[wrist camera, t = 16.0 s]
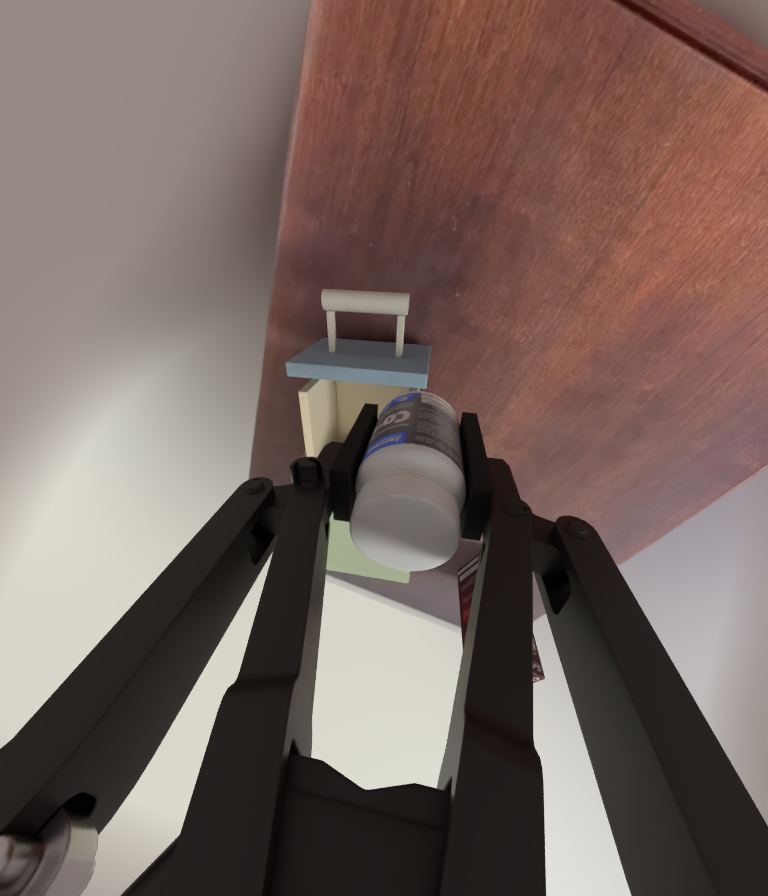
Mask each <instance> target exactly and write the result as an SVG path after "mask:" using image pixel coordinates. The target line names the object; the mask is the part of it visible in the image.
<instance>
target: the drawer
mask: <svg viewBox="0 0 768 896" xmlns="http://www.w3.org/2000/svg"><path fill="white" fill-rule="evenodd" d="M321 303H322V307H323V309H324V310H328V311H326V314H327V329H328V338H325V337H324V338H322V339H320V340H319V341H317V342H316V343H314V344H313V345H311V346H310V347H308V348H307V349H305V350H303V351H302V352H300V353H299V354H297V355H296V356H294V357H293V358H291V359H290V360H288V361H286V362H285V364H286V371H287V376H290V377H301V378H312V379H311V380H310V381H309V382H308V383H307V384H306V385H305V386H304V387H303V388H302V389H300V390H299V391H298V394H299V402H300V410H301V418H302V425H303V433H304V441H305V449H306V456H307V457H309V456H310V457H318V455H319V454H320V452H321V450H322V449H323V447H324V446H325V445H327V444H328V443H330V442H331V441H333V442H342V443H344V441H345V440H346V438H347V436H348V434H349V432H350V430H351V428H352V427H353V425H354V423H355V421H356V419H357V417H358V415H359V414H360V412H361V410H362V408H363V406H364V404H365V403H368V404H378V418H379V416H380V414H381V412H382V410H383V409H384V407H385V406H386V405H387V404H388V403H389V402H390V401H391V400H392V399H393V398H395V397H396V396H398V395H400V394H403V393H407V392H412V391H419V390H420V388H422V389H426V387H427V378H428V369H429V361H430V352H431V345H419V344H405V343H403V342H404V327H405V315H408V309H409V293H395V292H376V291H358V290H339V289H323V290H322V294H321ZM335 311H345V312H361V313H377V314H393V315H398V316H397V332H396V343H392V342H378V341H365V340H351V339H338V338H336V323H335Z"/></svg>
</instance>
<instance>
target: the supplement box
mask: <svg viewBox="0 0 768 896" xmlns="http://www.w3.org/2000/svg"><path fill="white" fill-rule="evenodd" d="M478 557H479V556H478ZM478 557H476V558H475V559H474V560H472V561H471V562H470V563H469V564H467V565H466V566H465V567H464V568H462V569H461V570H460V571H459V572H458V573H457V574H458V588H459V602H460V615H461V629H462V643H463V649H464V643H465V637H466V632H467V626H468V620H469V615H470V609H471V603H472V598H473V592H474V586H475V581H476V575H477V569H478V564H479V561H478ZM543 679H545V677H544V673H543V670H542V665H541V662H540V658H539V654H538V650H537V646H536V642H535V638H534V635H533V683H534V682H537V681H540V680H543Z"/></svg>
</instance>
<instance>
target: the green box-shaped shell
mask: <svg viewBox="0 0 768 896" xmlns="http://www.w3.org/2000/svg"><path fill="white" fill-rule="evenodd" d="M302 457H307V456H306V451H305V452H304V454H303V455H302ZM302 457H301V458H302ZM291 476H292V474H291ZM292 482H293V480H292ZM329 520H330V534H329V544H328V555H327V565H326V570H332V571H338V572H344V573H350V574H356V575H361V576H367V577H373V578H379V579H385V580H391V581H397V582H403V583H409V576H410V571H401V570H396V569H392V568H388V567H385V566H382V565H380V564H377V563H376V562H374V561H372V560H370V559H369V558H367V557H366V556H365V555H364V554H363V553H362V552H361V551H360V550H359V549H358V548H357V547H356V546H355V544H354V543H353V540H352V538H351V535H350V529H349V525H350V522H345V521H338V520H334V518H333V512H332V514H331V517H330V519H329Z"/></svg>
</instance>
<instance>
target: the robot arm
mask: <svg viewBox="0 0 768 896" xmlns="http://www.w3.org/2000/svg"><path fill="white" fill-rule="evenodd" d="M377 421H378V404H368V403H365V404H364V406H363V408H362V410H361V412H360V414H359V415H358V417H357V419H356V421H355V423H354V425H353V427H352V428H351V430H350V432H349V434H348V436H347V438H346V440H345V441H344V443H342V442H333V441H331V442H330V443H328V444H327V445H325V446H324V447H323V449H322V450H321V452H320V454H319V455H318V457H310V456H309V457H302V458H299V459H297V460H295V461H294V462H293V463H292V464H291V466H290V468H291V474H292V480H293V484H290V485H283V486H273V483H272V481H271V480H270V479H267V478H264V477H258V478H253V479H250V480H248V481H246V482H244V483H243V484H241V485H240V486H239V487H238V488H237V490H236V491H235V492H234V493H233V494H232V495H231V496H230V498H229V499H228V500H227V501H226V502H225V503H224V504H223V505H222V506H221V507H220V508H219V510H218V511H217V512H216V513H215V514H214V515H213V516H212V517H211V519H210V520H209V521H208V522H207V523H206V524H205V525H204V526H203V527H202V529H201V530H200V531H199V532H198V533H197V534H196V535H195V536H194V537H193V539H192V540H191V541H190V542H189V543H188V544H187V545H186V546H185V548H184V549H183V550H182V551H181V552H180V553H179V554H178V555H177V556H176V557H175V559H174V560H173V561H172V562H171V563H170V564H169V565H168V566H167V568H166V569H165V570H164V571H163V572H162V573H161V574H160V575H159V576H158V577H157V579H156V580H155V581H154V582H153V583H152V584H151V585H150V586H149V588H148V589H147V590H146V591H145V592H144V593H143V594H142V595H141V596H140V598H139V599H138V600H137V601H136V602H135V603H134V604H133V605H132V606H131V608H130V609H129V610H128V611H127V612H126V613H125V614H124V615H123V616H122V618H121V619H120V620H119V621H118V622H117V623H116V624H115V625H114V626H113V628H112V629H111V630H110V631H109V632H108V633H107V634H106V635H105V636H104V638H103V639H102V640H101V641H100V642H99V643H98V644H97V646H95V648H94V649H93V650H92V651H91V652H90V653H89V654H88V655H87V656H86V658H85V659H84V660H83V661H82V662H81V663H80V664H79V665H78V667H77V668H76V669H75V670H74V671H73V672H72V673H71V674H70V675H69V677H68V678H67V679H66V680H65V681H64V682H63V683H62V684H61V685H60V687H59V688H58V689H57V690H56V691H55V692H54V693H53V694H52V695H51V697H50V698H49V699H48V700H47V701H46V702H45V703H44V704H43V705H42V707H41V708H40V709H39V710H38V711H37V712H36V713H35V714H34V716H33V717H32V718H31V719H30V720H29V721H28V722H27V723H26V724H25V725H24V727H23V728H22V729H21V730H20V731H19V732H18V733H17V735H16V736H15V737H14V738H13V739H12V740H11V741H9V742H8V743H7V744H6V745H5V746H3V747H2V748H1V749H0V896H80V895H81V894H82V892H83V891H84V890H85V888H86V887H87V885H88V883H89V881H90V879H91V877H92V875H93V871H94V867H95V855H96V851H97V846H98V835H99V834H100V832H101V831H102V830H103V829H104V827H105V826H106V825H107V824H108V822H109V821H110V820H111V819H112V817H113V816H114V814H115V813H116V812H117V810H118V809H119V807H120V806H121V804H122V803H123V802H124V800H125V799H126V797H127V796H128V794H129V793H130V792H131V790H132V789H133V788H134V786H135V784H136V783H137V781H138V780H139V778H140V777H141V775H142V773H143V772H144V770H145V769H146V767H147V765H148V764H149V762H150V761H151V759H152V757H153V756H154V754H155V752H156V751H157V749H158V747H159V745H160V744H161V742H162V740H163V738H164V737H165V735H166V733H167V732H168V730H169V728H170V727H171V725H172V723H173V721H174V720H175V718H176V716H177V715H178V713H179V711H180V709H181V708H182V706H183V704H184V703H185V701H186V699H187V697H188V696H189V694H190V692H191V690H192V689H193V687H194V685H195V684H196V682H197V680H198V678H199V676H200V675H201V673H202V672H203V670H204V668H205V666H206V665H207V663H208V661H209V659H210V657H211V656H212V654H213V653H214V651H215V649H216V647H217V646H218V644H219V642H220V641H221V639H222V637H223V635H224V634H225V632H226V630H227V628H228V627H229V625H230V623H231V622H232V620H233V618H234V616H235V615H236V613H237V611H238V610H239V608H240V606H241V604H242V603H243V601H244V599H245V597H246V596H247V594H248V592H249V591H250V589H251V587H252V586H253V583H254V582H255V580H256V579H257V577H258V575H259V573H260V572H261V570H262V568H263V567H264V565H265V563H266V562H267V560H268V558H269V556H270V555H271V553H272V551H273V549H274V552H273V555H272V559H271V562H270V566H269V569H268V573H267V576H266V580H265V583H264V587H263V591H262V594H261V598H260V601H259V605H258V609H257V612H256V615H255V619H254V622H253V626H252V629H251V633H250V637H249V640H248V644H247V647H246V651H245V654H244V658H243V661H242V665H241V668H240V672H239V675H238V678H237V680H236V681H235V683H234V684H232V685H231V686H230V687H229V688H228V689H227V691H226V692H225V695H224V696H223V699H222V701H221V704H220V707H219V709H218V712H217V716H216V719H215V722H214V725H213V729H212V732H211V735H210V739H209V742H208V745H207V748H206V752H205V755H204V759H203V761H202V765H201V768H200V772H199V775H198V778H197V781H196V784H195V788H194V791H193V794H192V798H191V801H190V804H189V807H188V811H187V814H186V817H185V820H184V824H183V827H182V830H181V833H180V835H179V836H178V837H177V838H176V839H175V840H174V841H173V842H172V843H171V844H170V845H169V846H168V848H166V850H165V851H164V852H163V853H162V854H161V855H160V856H159V857H158V858H157V859H156V860H155V861H154V862H153V863H152V864H151V865H150V866H149V867H148V868H147V869H146V870H145V871H144V872H143V873H142V874H141V875H140V876H139V877H138V878H137V879H136V880H135V881H134V882H133V883H132V884H131V885H130V886H129V887H128V888H127V889H126V890H125V891H124V893H122V895H121V896H546V877H545V834H544V797H543V795H544V793H543V774H542V766H541V761H540V757H539V755H538V753H537V751H536V749H535V747H534V741H533V577H532V571H534V574H535V578H536V581H537V584H538V588H539V591H540V594H541V598H542V601H543V604H544V608H545V611H546V614H547V617H548V621H549V624H550V627H551V631H552V634H553V637H554V641H555V644H556V647H557V651H558V654H559V657H560V661H561V664H562V667H563V671H564V674H565V677H566V680H567V684H568V687H569V690H570V694H571V697H572V700H573V704H574V707H575V710H576V714H577V717H578V721H579V724H580V727H581V730H582V734H583V737H584V741H585V744H586V747H587V751H588V754H589V757H590V760H591V764H592V767H593V770H594V774H595V777H596V780H597V783H598V787H599V790H600V794H601V797H602V800H603V804H604V807H605V810H606V814H607V817H608V820H609V824H610V827H611V830H612V834H613V837H614V840H615V844H616V846H617V850H618V853H619V857H620V860H621V864H622V867H623V870H624V873H625V877H626V880H627V883H628V886H629V889H630V892H631V895H632V896H768V826H767V824H766V822H765V821H764V819H763V817H762V816H761V814H760V812H759V810H758V809H757V807H756V805H755V804H754V802H753V800H752V798H751V797H750V795H749V793H748V791H747V790H746V788H745V787H744V785H743V783H742V781H741V780H740V778H739V776H738V774H737V773H736V771H735V769H734V767H733V766H732V764H731V762H730V760H729V759H728V757H727V755H726V754H725V752H724V750H723V749H722V747H721V745H720V743H719V741H718V740H717V738H716V736H715V735H714V733H713V731H712V729H711V728H710V726H709V724H708V722H707V721H706V719H705V717H704V716H703V714H702V712H701V710H700V709H699V707H698V706H697V704H696V702H695V700H694V699H693V697H692V695H691V693H690V691H689V690H688V688H687V686H686V685H685V683H684V681H683V680H682V678H681V676H680V674H679V672H678V671H677V669H676V667H675V666H674V664H673V662H672V661H671V659H670V657H669V655H668V654H667V652H666V650H665V648H664V647H663V645H662V643H661V641H660V640H659V638H658V636H657V635H656V633H655V631H654V630H653V628H652V626H651V624H650V623H649V621H648V619H647V617H646V616H645V614H644V612H643V611H642V609H641V607H640V606H639V604H638V602H637V600H636V598H635V597H634V595H633V593H632V592H631V590H630V588H629V586H628V585H627V583H626V581H625V580H624V578H623V576H622V574H621V573H620V571H619V569H618V567H617V566H616V564H615V562H614V560H613V559H612V557H611V555H610V554H609V552H608V550H607V548H606V547H605V545H604V543H603V542H602V540H601V538H600V536H599V535H598V533H597V531H596V530H595V529H594V528H593V527H592V526H591V525H590V524H588V523H587V522H586V521H584V520H581V519H579V518H577V517H573V516H561V517H559V518H558V519H557V520H556V522H552V521H550V520H547V519H544V518H541V517H539V516H536V515H535V514H533V513H532V511H531V508H530V507H529V506H528V505H527V503H525V502H524V501H522V500H521V499H520V496H519V493H518V490H517V487H516V484H515V481H514V478H513V475H512V472H511V469H510V466H509V465H508V464H507V463H506V462H505V461H504V460H503V459H495V458H487V455H486V451H485V447H484V443H483V439H482V434H481V430H480V426H479V422H478V418H477V413H466V412H462V418H461V423H460V435H461V445H462V453H463V461H464V471H465V479H466V491H467V493H466V500H465V504H464V507H463V509H462V511H461V513H460V514H459V516H460V529H461V538H465V539H472V540H479V541H480V538H481V535H482V532H483V538H484V541H483V544H482V548H481V551H480V554H479V557H478V561H479V564H478V569H477V575H476V581H475V586H474V592H473V598H472V603H471V609H470V615H469V620H468V626H467V632H466V637H465V643H464V649H463V654H462V660H461V665H460V671H459V677H458V682H457V689H456V694H455V700H454V705H453V711H452V716H451V722H450V728H449V733H448V739H447V745H446V749H445V754H444V758H443V762H442V766H441V771H440V775H439V780H438V785H437V789H436V788H432V787H428V786H424V785H420V784H415V783H413V784H407V785H399V786H392V787H386V788H379V789H372V790H365V789H362V788H361V787H359V786H358V785H356V784H355V783H354V782H352V781H351V780H349V779H348V778H346V777H345V776H344V775H342V774H341V773H339V772H338V771H337V770H335V769H333V768H332V767H331V766H329V765H328V764H327V763H325V762H324V761H322V760H318V759H314V758H311V750H312V711H313V701H314V690H315V680H316V669H317V658H318V648H319V637H320V628H321V616H322V607H323V596H324V586H325V576H326V565H327V555H328V544H329V534H330V520H329V519H330V517H331V514H332V512H333V518H334V520H338V521H345V522H350V518H351V515H352V511H353V508H354V504H355V500H356V495H355V479H356V475H357V471H358V468H359V466H360V463H361V461H362V459H363V456H364V454H365V452H366V449H367V446H368V444H369V441H370V438H371V436H372V433H373V431H374V428H375V426H376V424H377Z"/></svg>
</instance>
